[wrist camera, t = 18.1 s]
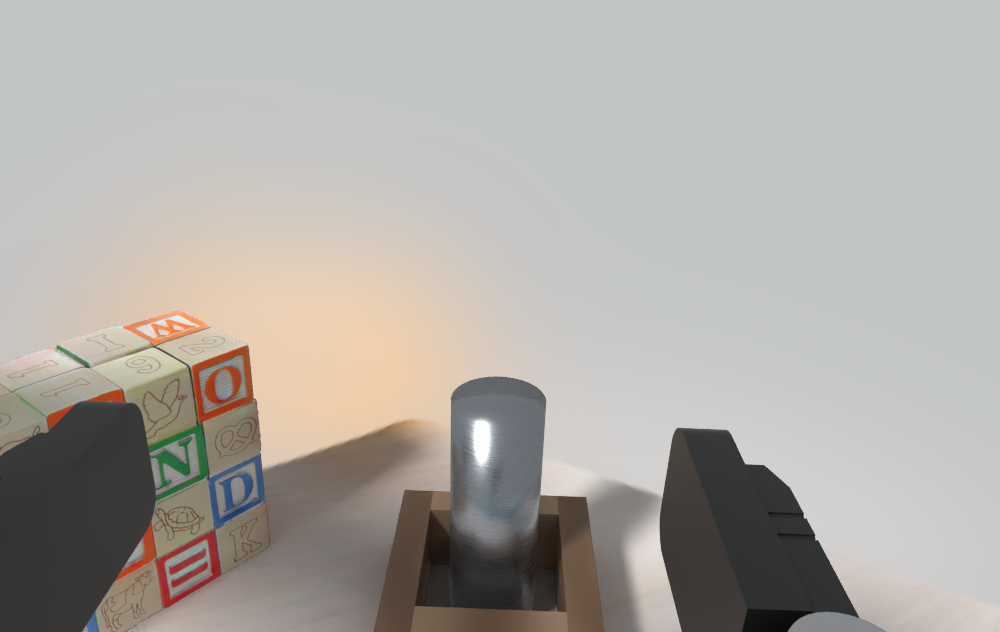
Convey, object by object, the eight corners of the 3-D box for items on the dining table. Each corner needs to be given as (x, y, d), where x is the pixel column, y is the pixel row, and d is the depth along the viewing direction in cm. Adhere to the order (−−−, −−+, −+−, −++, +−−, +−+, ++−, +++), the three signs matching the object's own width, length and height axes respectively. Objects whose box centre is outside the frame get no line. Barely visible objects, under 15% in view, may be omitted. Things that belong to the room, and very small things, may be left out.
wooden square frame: (376, 692, 33) (373, 632, 31) (405, 543, 42) (404, 490, 40) (597, 701, 33) (605, 641, 31) (580, 550, 42) (585, 497, 40)
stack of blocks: (-257, 872, 26) (-424, 592, 21) (-294, 760, 29) (-445, 498, 24) (274, 545, 41) (251, 339, 36) (208, 497, 45) (178, 304, 40)
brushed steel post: (446, 645, 35) (447, 422, 30) (452, 583, 39) (454, 375, 34) (532, 649, 35) (547, 427, 30) (531, 586, 39) (544, 378, 34)
